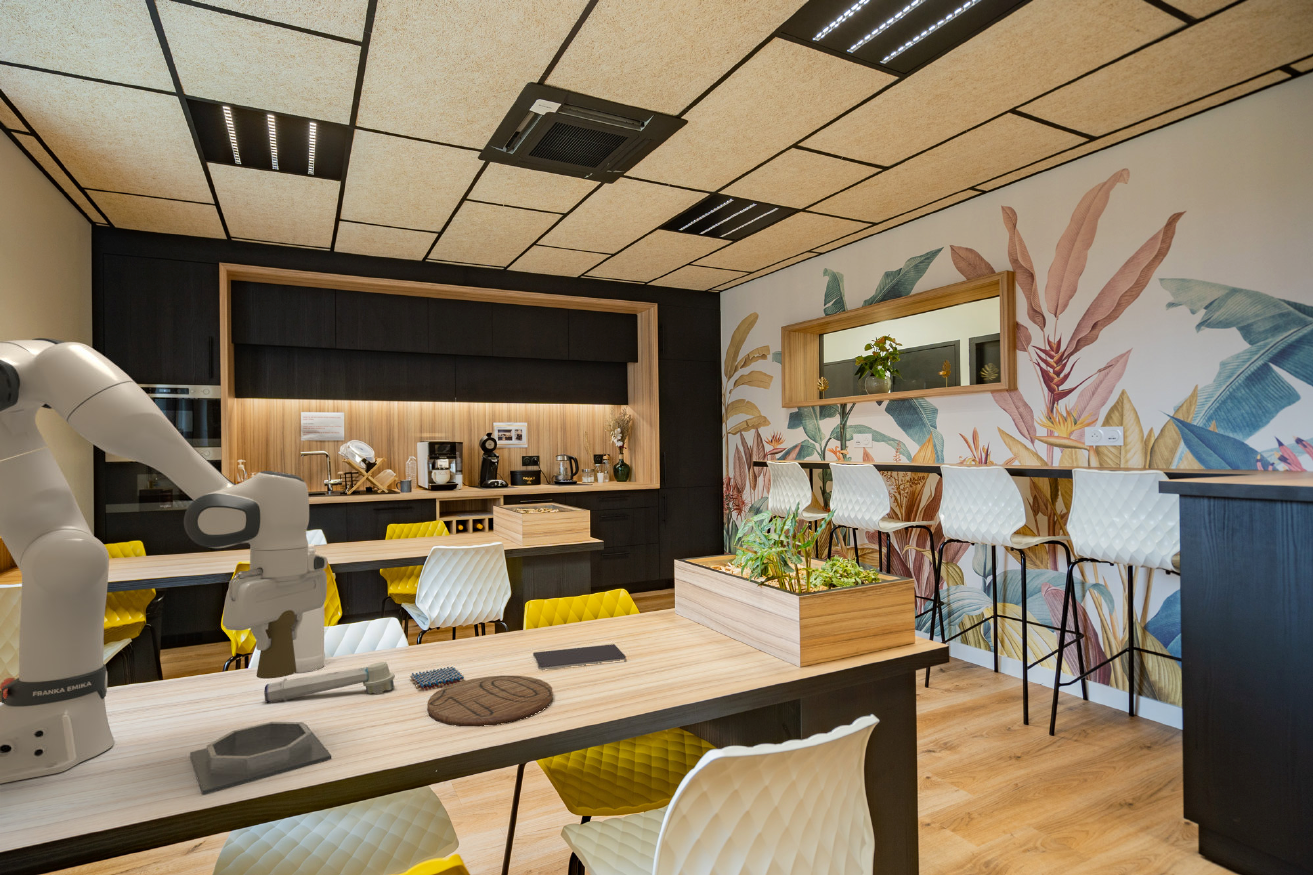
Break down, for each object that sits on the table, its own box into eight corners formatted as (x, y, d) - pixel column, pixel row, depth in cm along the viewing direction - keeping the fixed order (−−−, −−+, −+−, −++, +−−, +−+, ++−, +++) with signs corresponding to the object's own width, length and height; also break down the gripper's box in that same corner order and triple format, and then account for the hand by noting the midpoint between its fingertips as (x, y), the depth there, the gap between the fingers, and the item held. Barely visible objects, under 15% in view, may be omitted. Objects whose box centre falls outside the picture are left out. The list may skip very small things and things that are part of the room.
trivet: (471, 740, 120) (471, 729, 120) (404, 707, 136) (404, 697, 137) (577, 701, 138) (577, 692, 138) (507, 676, 155) (507, 668, 155)
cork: (270, 680, 111) (272, 613, 112) (248, 675, 114) (250, 610, 114) (304, 670, 117) (305, 607, 117) (282, 666, 119) (284, 604, 120)
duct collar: (202, 794, 101) (202, 774, 101) (190, 755, 114) (190, 737, 114) (331, 758, 112) (331, 740, 112) (305, 727, 126) (305, 710, 126)
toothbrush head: (269, 679, 143) (392, 653, 149) (274, 710, 143) (397, 682, 149) (261, 687, 138) (389, 660, 144) (266, 719, 138) (394, 690, 144)
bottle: (280, 671, 161) (280, 546, 162) (307, 661, 168) (307, 542, 169) (305, 674, 158) (305, 547, 159) (332, 664, 165) (331, 543, 166)
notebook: (614, 649, 176) (533, 658, 169) (614, 643, 176) (533, 652, 169) (627, 663, 164) (539, 673, 157) (626, 657, 164) (539, 666, 157)
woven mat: (454, 673, 159) (453, 664, 159) (467, 685, 150) (467, 676, 150) (408, 681, 153) (408, 672, 153) (419, 694, 144) (418, 685, 144)
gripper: (247, 573, 105) (245, 662, 105) (333, 557, 125) (332, 631, 125) (213, 572, 107) (210, 660, 106) (304, 556, 127) (302, 630, 126)
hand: (277, 644), depth 115 cm, fingers closed on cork, 4 cm apart
